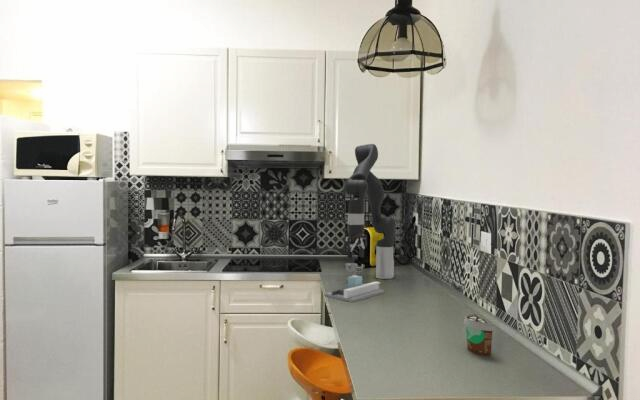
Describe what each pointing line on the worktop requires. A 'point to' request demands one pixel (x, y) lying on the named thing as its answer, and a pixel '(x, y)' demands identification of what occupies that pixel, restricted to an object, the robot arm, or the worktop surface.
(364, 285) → the rail mount
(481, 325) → the food container
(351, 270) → the mechanical component
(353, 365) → the worktop surface
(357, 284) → the block
